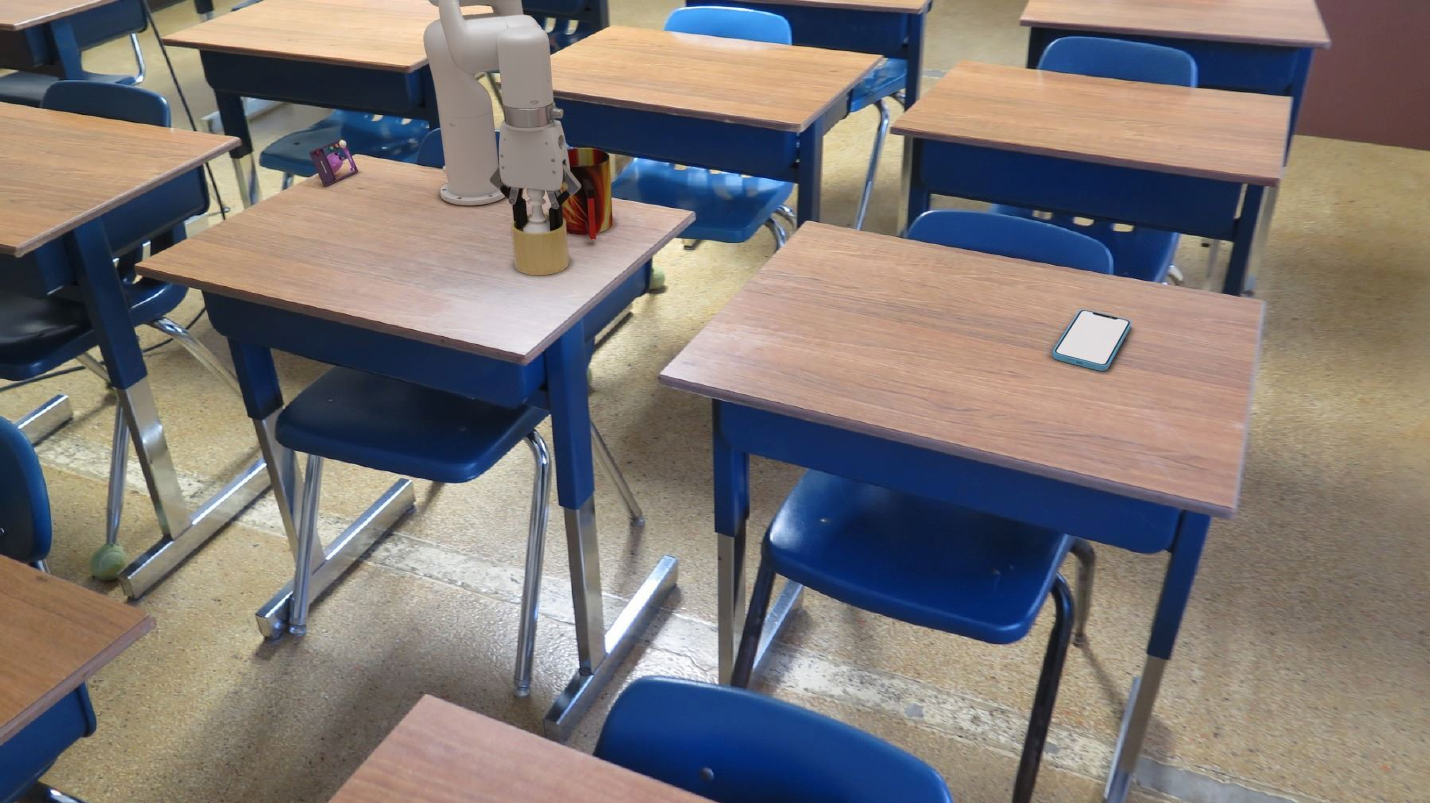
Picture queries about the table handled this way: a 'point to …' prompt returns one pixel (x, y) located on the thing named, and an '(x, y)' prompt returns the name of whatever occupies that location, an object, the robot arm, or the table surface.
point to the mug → (589, 193)
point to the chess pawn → (537, 213)
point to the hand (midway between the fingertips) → (538, 226)
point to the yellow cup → (540, 250)
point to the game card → (331, 162)
